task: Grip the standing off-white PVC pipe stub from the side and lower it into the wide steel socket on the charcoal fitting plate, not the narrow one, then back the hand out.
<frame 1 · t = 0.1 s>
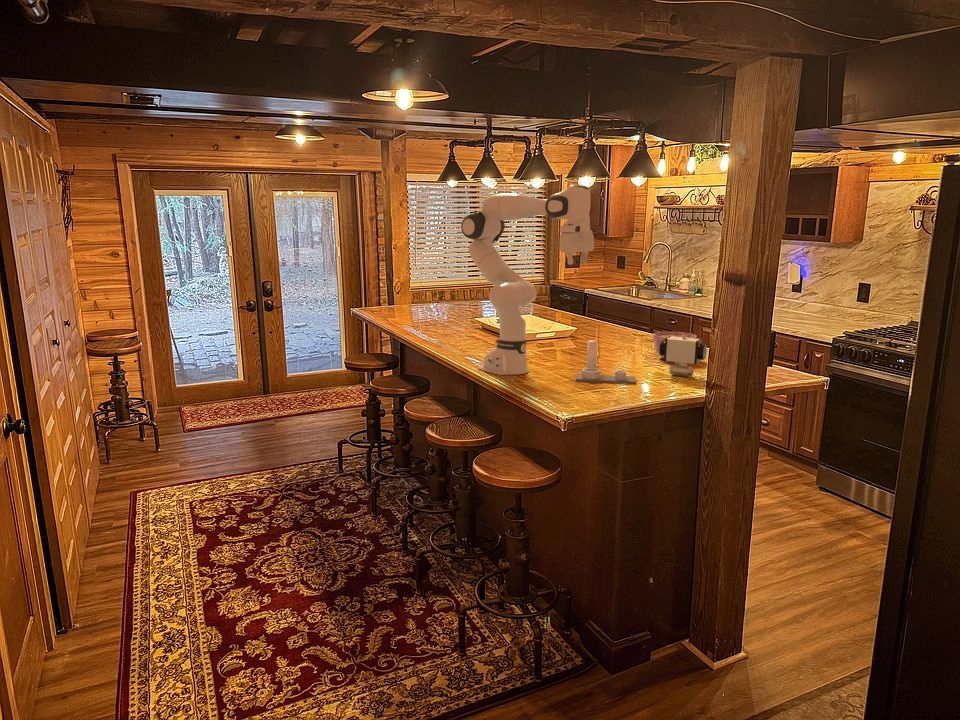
hand: (576, 263, 259), 48 cm above the countertop, tool pointing down, fingers open, 8 cm apart
clear bowl: (673, 359, 316), on the countertop
pvc pipe: (591, 372, 286), on the countertop
ball valve: (681, 376, 282), on the countertop
fitting plate: (605, 380, 273), on the countertop
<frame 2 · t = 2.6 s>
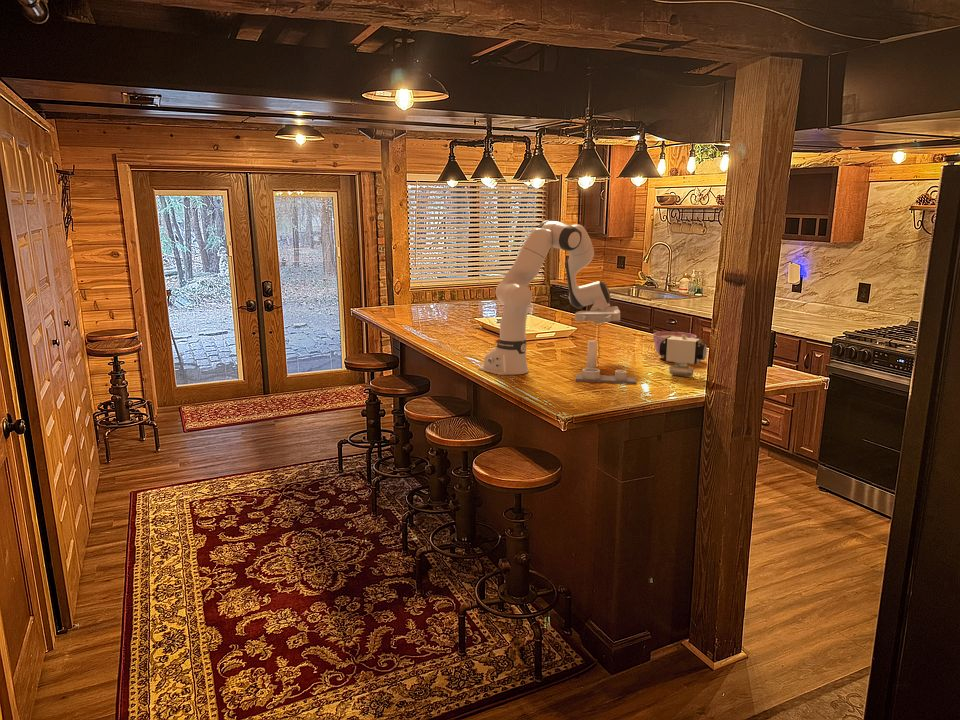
hand: (595, 319, 291), 22 cm above the countertop, tool horizontal, fingers open, 8 cm apart
nothing on the countertop moved.
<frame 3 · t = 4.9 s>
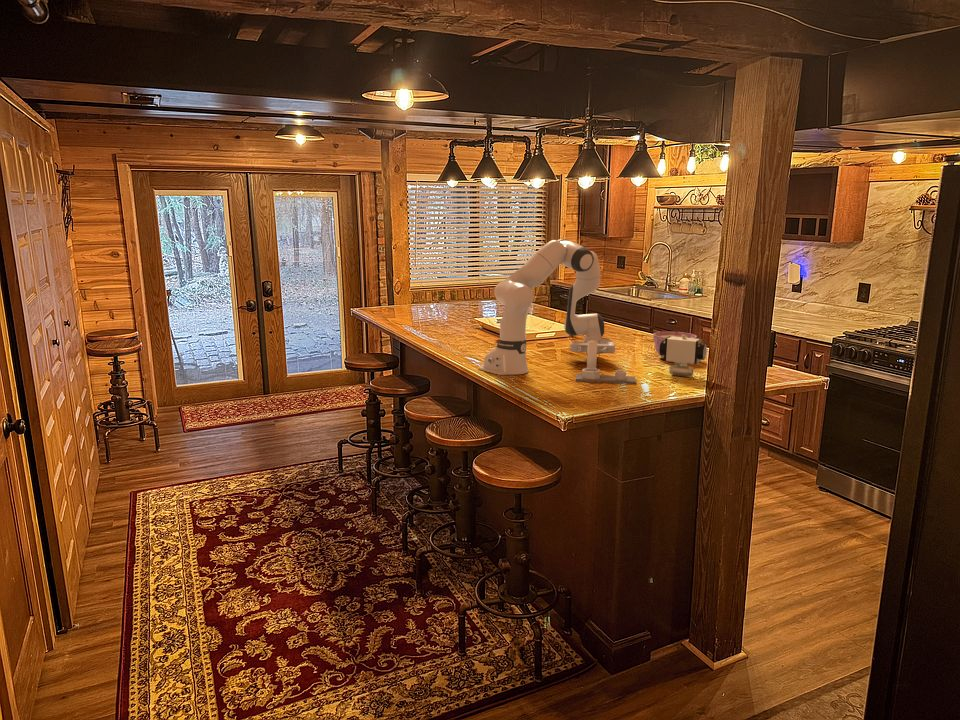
hand: (592, 350, 294), 8 cm above the countertop, tool horizontal, fingers open, 8 cm apart
nothing on the countertop moved.
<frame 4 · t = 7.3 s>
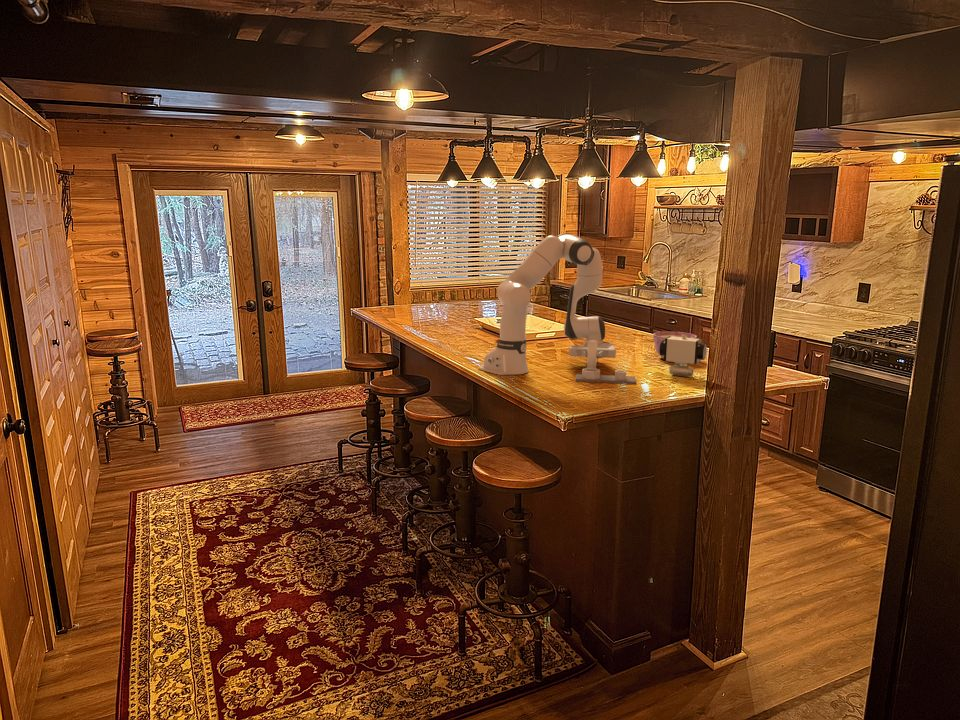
hand: (591, 355, 284), 8 cm above the countertop, tool horizontal, fingers closed on pvc pipe, 4 cm apart
pvc pipe: (591, 372, 286), on the countertop, touching gripper
everything else where it was.
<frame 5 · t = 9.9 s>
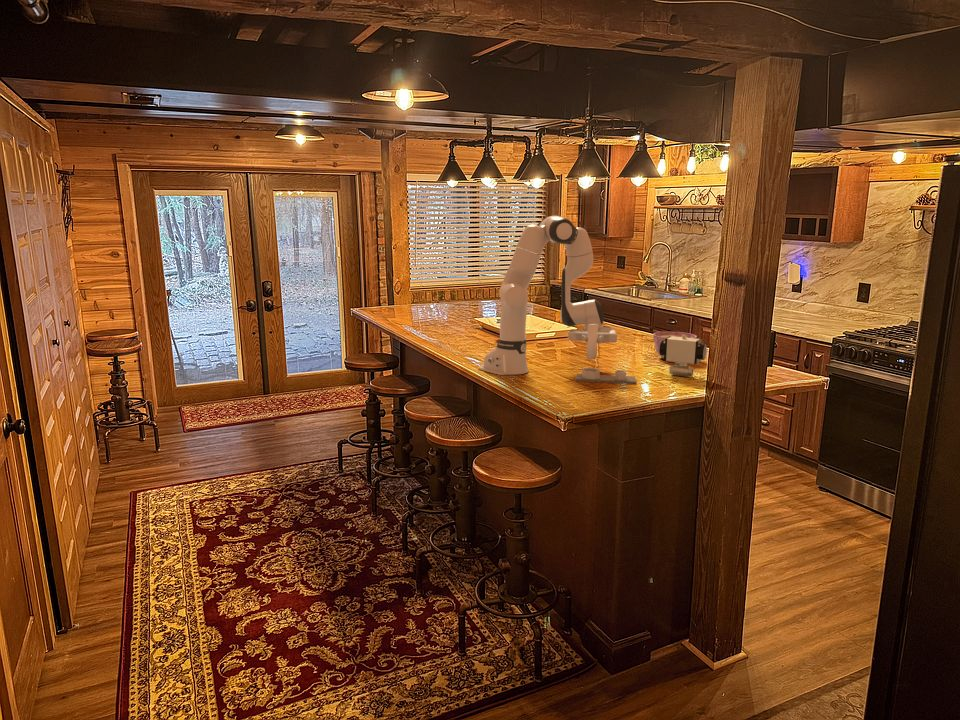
hand: (592, 339, 271), 17 cm above the countertop, tool horizontal, fingers closed on pvc pipe, 4 cm apart
pvc pipe: (591, 358, 274), point 9 cm above the countertop, touching gripper
everything else where it was.
when the fingers open (10 cm above the countertop, at t = 12.5 s): pvc pipe stays where it is, resting on fitting plate.
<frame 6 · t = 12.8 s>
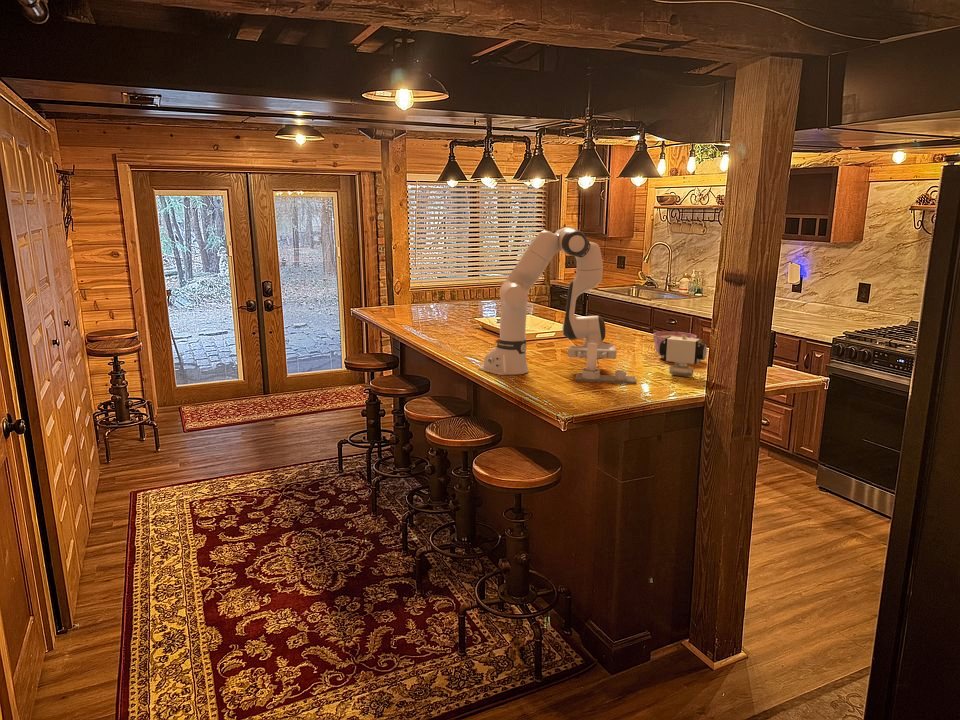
hand: (591, 356, 272), 10 cm above the countertop, tool horizontal, fingers open, 7 cm apart
pvc pipe: (590, 376, 274), point 1 cm above the countertop, touching fitting plate
everything else where it was.
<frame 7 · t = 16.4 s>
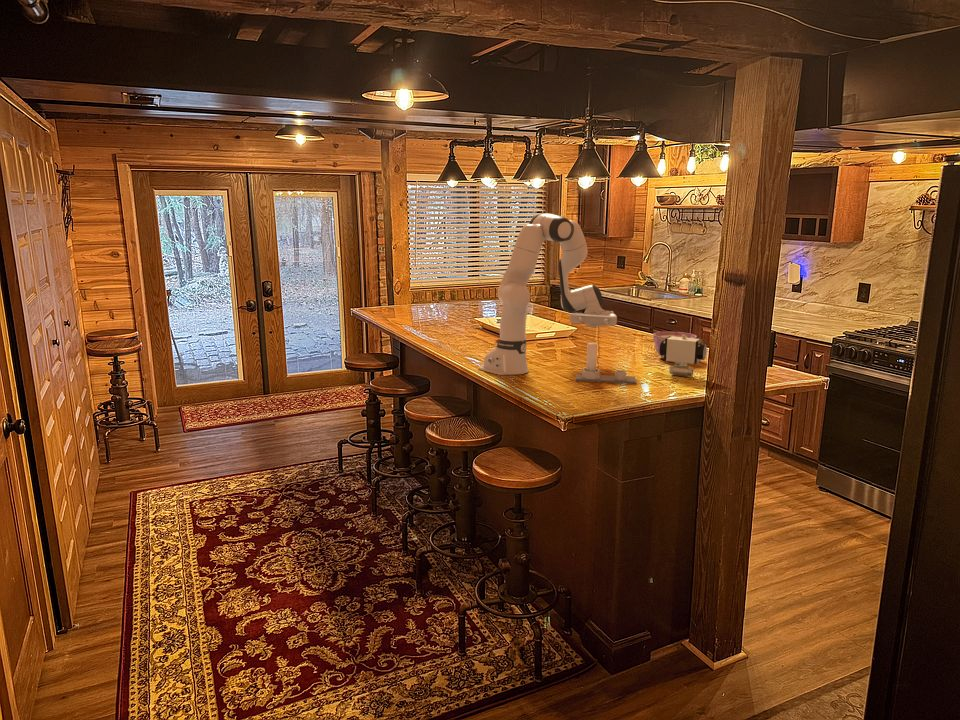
hand: (592, 321, 281), 22 cm above the countertop, tool horizontal, fingers open, 8 cm apart
nothing on the countertop moved.
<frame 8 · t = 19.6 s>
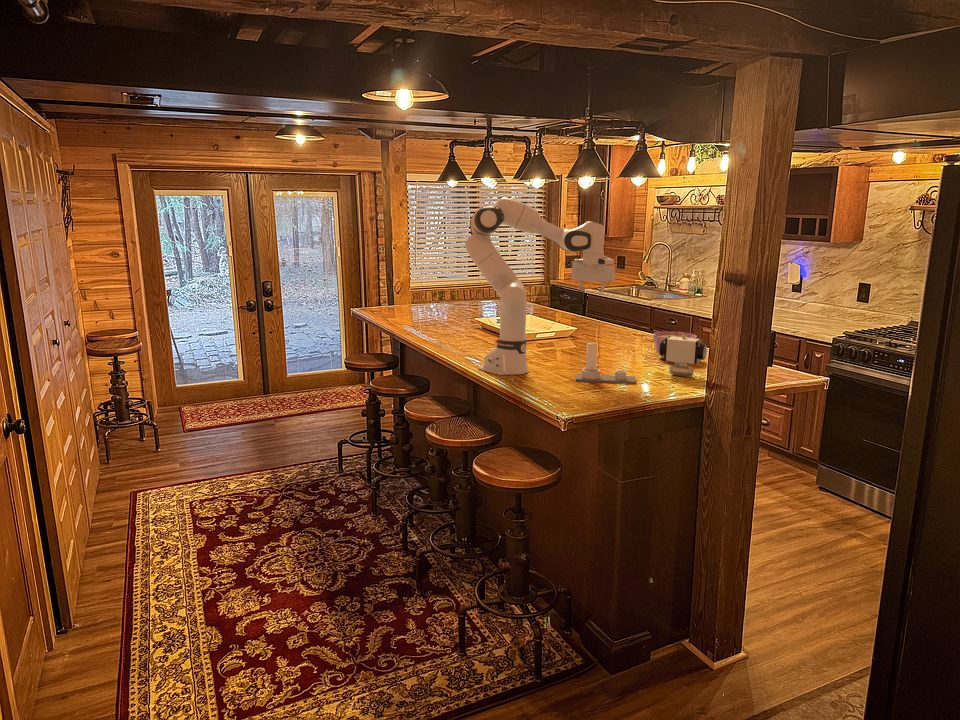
hand: (591, 291, 289), 34 cm above the countertop, tool pointing down, fingers open, 8 cm apart
nothing on the countertop moved.
at the end: pvc pipe 0.0 cm from the target spot, point 1.0 cm above the countertop; pvc pipe tilted 1°; the gripper is holding nothing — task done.
